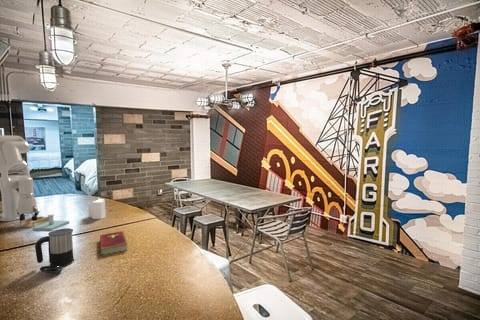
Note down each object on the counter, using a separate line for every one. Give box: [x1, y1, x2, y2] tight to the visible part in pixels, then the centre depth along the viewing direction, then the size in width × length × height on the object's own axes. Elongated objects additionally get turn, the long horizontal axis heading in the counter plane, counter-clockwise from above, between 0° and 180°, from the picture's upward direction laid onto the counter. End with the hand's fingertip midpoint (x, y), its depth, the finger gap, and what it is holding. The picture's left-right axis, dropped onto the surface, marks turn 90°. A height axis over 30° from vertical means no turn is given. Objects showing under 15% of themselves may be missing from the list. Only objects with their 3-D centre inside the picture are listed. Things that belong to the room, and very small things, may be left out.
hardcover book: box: [99, 230, 128, 256], centre depth 133 cm, size 12×21×4 cm, turn 30°
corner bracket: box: [88, 198, 107, 220], centre depth 184 cm, size 11×11×12 cm
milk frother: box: [34, 228, 75, 275], centre depth 110 cm, size 14×16×15 cm
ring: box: [18, 215, 49, 228], centre depth 168 cm, size 11×11×4 cm
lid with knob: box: [32, 213, 70, 232], centre depth 163 cm, size 13×14×8 cm
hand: (28, 221), depth 168 cm, fingers open, 8 cm apart
